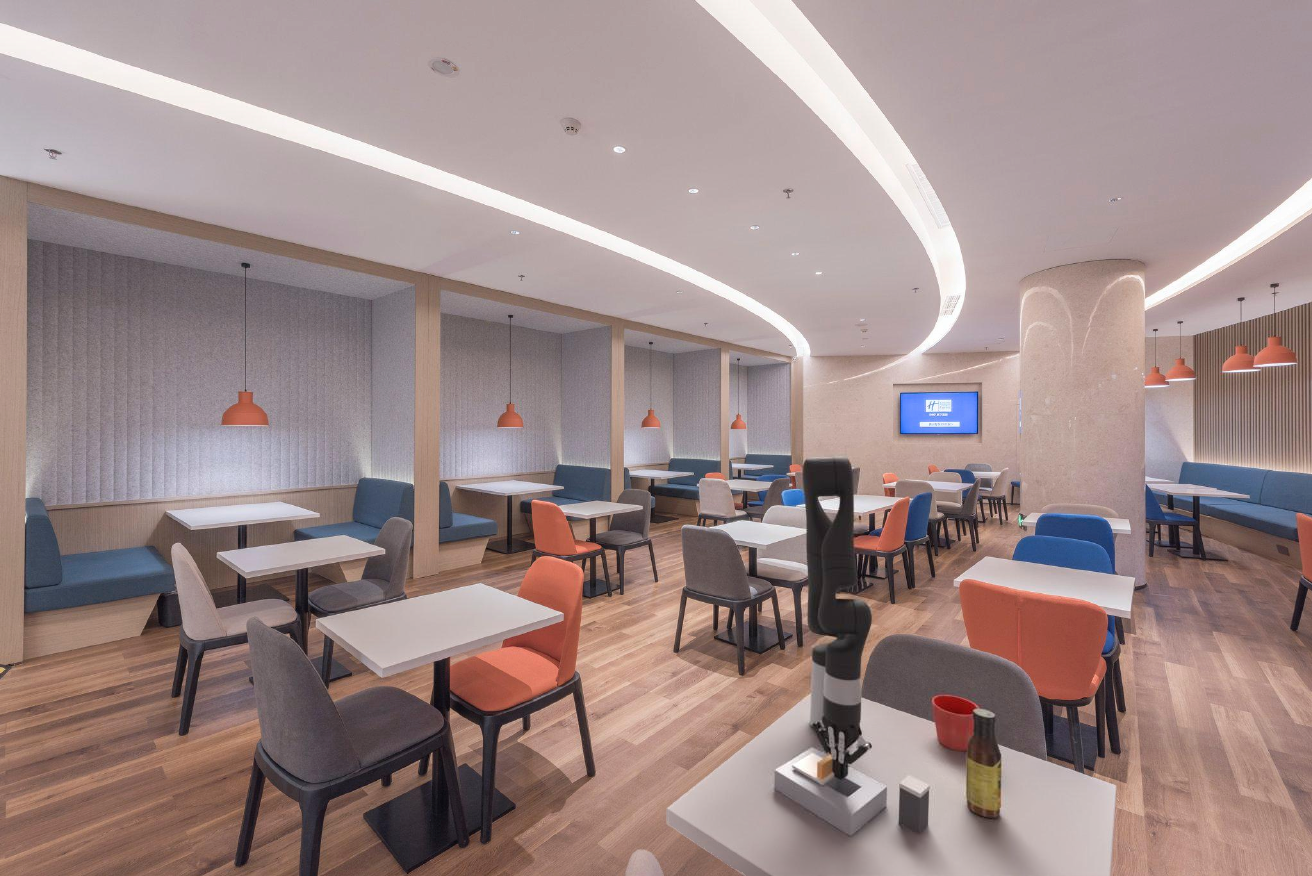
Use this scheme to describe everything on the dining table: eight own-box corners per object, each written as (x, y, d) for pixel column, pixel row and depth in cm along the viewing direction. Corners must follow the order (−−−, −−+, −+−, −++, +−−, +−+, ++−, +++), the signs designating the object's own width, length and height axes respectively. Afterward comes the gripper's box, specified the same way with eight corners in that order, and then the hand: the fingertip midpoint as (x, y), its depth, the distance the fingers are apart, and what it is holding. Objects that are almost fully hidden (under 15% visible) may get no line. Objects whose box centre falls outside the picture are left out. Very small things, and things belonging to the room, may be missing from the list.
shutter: (812, 755, 124) (812, 739, 124) (842, 771, 118) (842, 755, 118) (792, 767, 119) (792, 751, 119) (822, 785, 113) (823, 768, 113)
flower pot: (920, 736, 141) (922, 698, 141) (949, 727, 146) (951, 691, 146) (959, 759, 131) (960, 718, 131) (988, 749, 136) (989, 710, 136)
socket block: (811, 764, 127) (812, 747, 127) (886, 805, 114) (887, 786, 114) (774, 788, 118) (774, 770, 118) (850, 836, 105) (851, 815, 105)
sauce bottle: (1005, 822, 110) (1009, 723, 110) (971, 817, 111) (974, 719, 111) (992, 801, 116) (995, 708, 116) (960, 796, 117) (963, 704, 117)
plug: (907, 814, 111) (908, 775, 111) (928, 825, 108) (929, 785, 108) (898, 823, 109) (899, 783, 109) (919, 835, 106) (920, 793, 106)
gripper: (881, 701, 112) (879, 786, 112) (824, 678, 122) (821, 756, 122) (862, 713, 107) (860, 801, 107) (804, 688, 117) (802, 768, 117)
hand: (839, 777), depth 115 cm, fingers closed
